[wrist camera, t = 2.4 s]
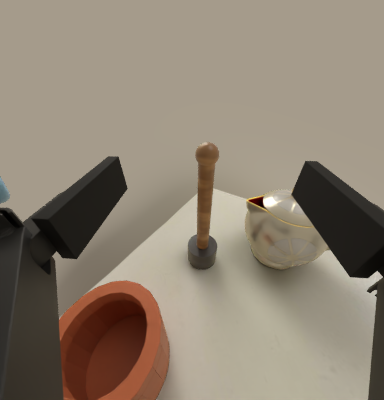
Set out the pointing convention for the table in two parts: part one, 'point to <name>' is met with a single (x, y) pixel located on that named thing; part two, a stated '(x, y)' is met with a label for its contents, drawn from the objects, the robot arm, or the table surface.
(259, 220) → the teapot
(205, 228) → the brush
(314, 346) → the table surface
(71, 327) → the jar
